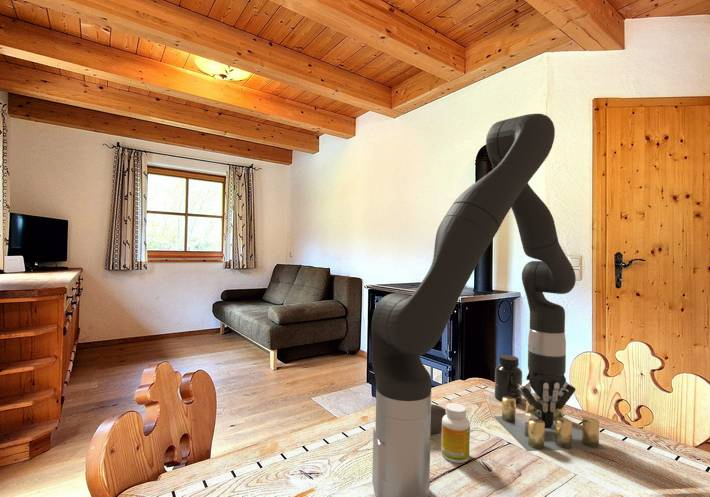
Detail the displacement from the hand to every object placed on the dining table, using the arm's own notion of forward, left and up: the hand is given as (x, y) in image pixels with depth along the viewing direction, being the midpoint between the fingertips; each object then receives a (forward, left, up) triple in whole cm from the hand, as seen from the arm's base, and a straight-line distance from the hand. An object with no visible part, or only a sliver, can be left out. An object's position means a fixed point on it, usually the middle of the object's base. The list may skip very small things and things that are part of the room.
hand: (545, 426), depth 82 cm
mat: (-3, 0, -2) cm, 3 cm away
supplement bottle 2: (0, +17, -2) cm, 18 cm away
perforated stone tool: (-29, +1, -2) cm, 29 cm away
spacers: (0, 0, -2) cm, 2 cm away
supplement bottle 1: (-24, -7, -2) cm, 25 cm away
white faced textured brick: (-4, 0, -1) cm, 4 cm away
